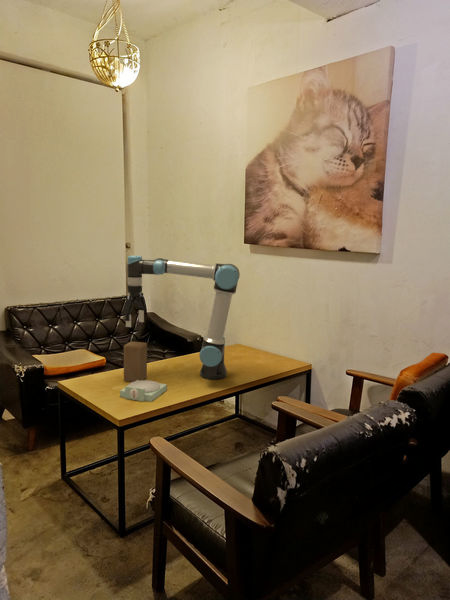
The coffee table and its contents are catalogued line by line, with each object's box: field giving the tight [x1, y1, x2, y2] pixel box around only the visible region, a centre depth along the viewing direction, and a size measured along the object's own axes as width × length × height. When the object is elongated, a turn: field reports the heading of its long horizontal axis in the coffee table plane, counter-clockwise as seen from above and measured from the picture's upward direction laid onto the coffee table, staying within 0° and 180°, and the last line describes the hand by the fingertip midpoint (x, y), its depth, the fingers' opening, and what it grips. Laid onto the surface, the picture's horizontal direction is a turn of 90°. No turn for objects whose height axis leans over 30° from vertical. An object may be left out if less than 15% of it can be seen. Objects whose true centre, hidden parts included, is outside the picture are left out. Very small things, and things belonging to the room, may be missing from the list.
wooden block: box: [123, 341, 148, 383], centre depth 246 cm, size 10×10×20 cm
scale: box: [119, 379, 168, 403], centre depth 226 cm, size 17×19×6 cm
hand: (135, 324), depth 244 cm, fingers open, 13 cm apart
